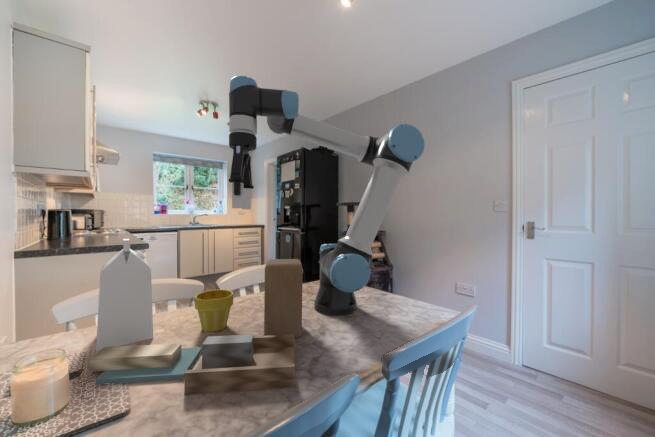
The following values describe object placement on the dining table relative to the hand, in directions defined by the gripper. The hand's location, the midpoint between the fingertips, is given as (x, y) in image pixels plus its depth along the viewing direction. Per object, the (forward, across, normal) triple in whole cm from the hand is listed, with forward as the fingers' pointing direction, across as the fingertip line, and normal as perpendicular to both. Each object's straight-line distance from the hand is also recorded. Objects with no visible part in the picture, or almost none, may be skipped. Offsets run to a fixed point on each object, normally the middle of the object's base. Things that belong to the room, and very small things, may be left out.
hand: (242, 209), depth 77 cm
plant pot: (+35, -2, -8) cm, 36 cm away
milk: (+35, +1, -30) cm, 46 cm away
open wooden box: (+35, +21, +5) cm, 41 cm away
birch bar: (+34, +17, -19) cm, 42 cm away
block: (+35, +3, +12) cm, 37 cm away
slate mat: (+35, +17, -15) cm, 42 cm away
